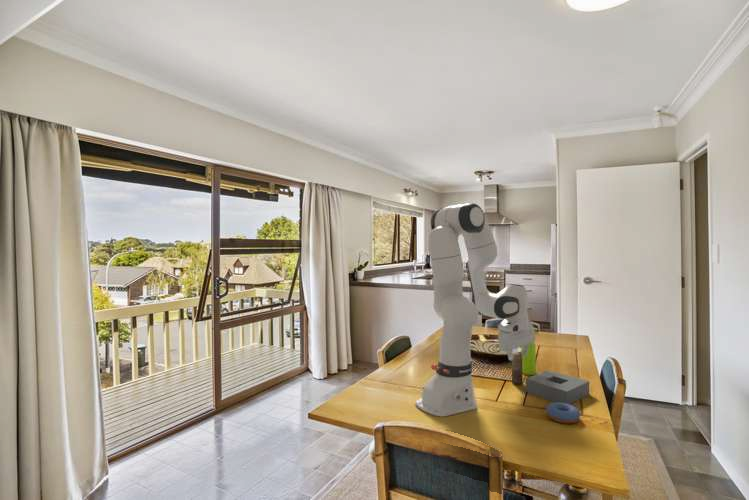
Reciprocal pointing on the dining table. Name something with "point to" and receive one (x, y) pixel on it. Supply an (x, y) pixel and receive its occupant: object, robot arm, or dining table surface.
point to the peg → (517, 369)
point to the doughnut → (563, 413)
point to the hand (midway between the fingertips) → (518, 357)
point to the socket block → (557, 387)
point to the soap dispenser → (529, 360)
